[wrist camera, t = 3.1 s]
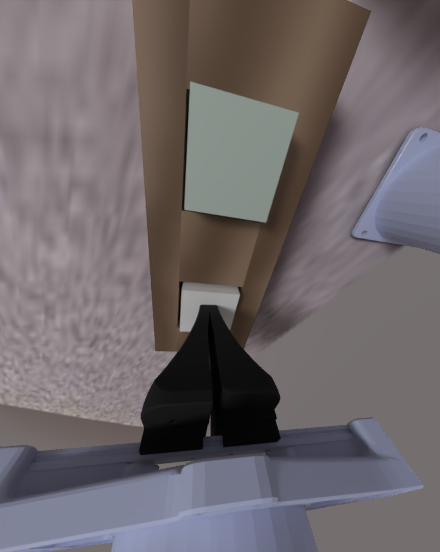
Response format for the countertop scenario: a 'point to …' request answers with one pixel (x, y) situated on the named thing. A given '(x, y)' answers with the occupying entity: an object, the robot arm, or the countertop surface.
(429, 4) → the countertop surface
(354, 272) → the countertop surface
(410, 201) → the robot arm
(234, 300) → the off white key
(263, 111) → the sage key
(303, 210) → the countertop surface
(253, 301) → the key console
